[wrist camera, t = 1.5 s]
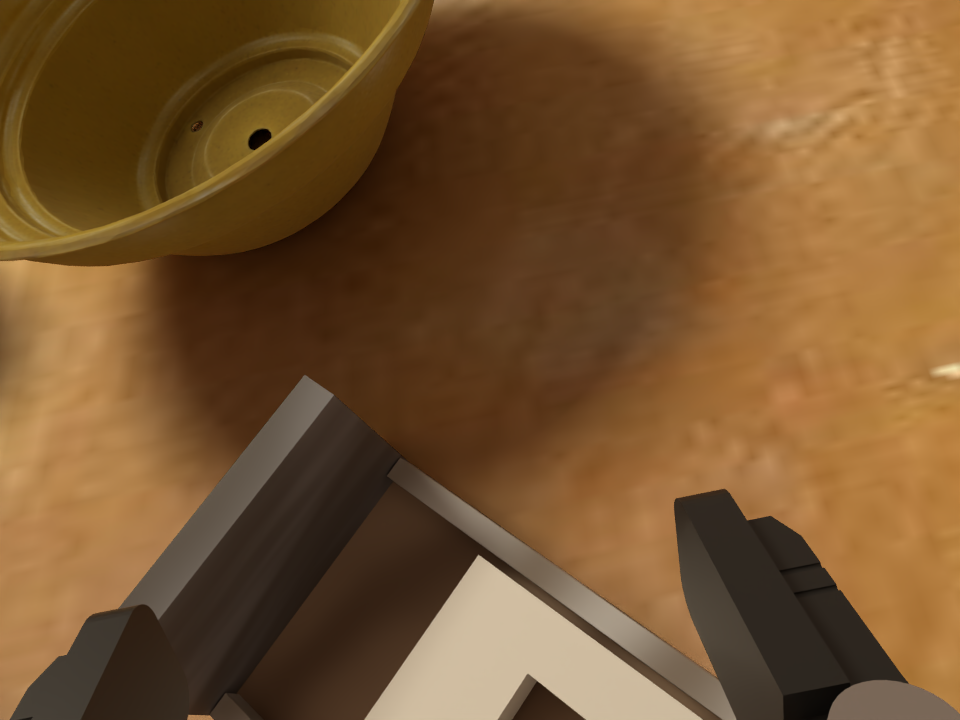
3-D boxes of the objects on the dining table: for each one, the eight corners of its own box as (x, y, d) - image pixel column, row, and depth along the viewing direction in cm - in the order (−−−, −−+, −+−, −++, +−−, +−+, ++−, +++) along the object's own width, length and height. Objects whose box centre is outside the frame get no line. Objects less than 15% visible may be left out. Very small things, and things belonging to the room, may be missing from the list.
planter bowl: (615, 226, 38) (574, 5, 27) (61, 484, 40) (-201, 385, 29) (426, -97, 54) (349, -324, 42) (36, 101, 56) (-139, -63, 45)
